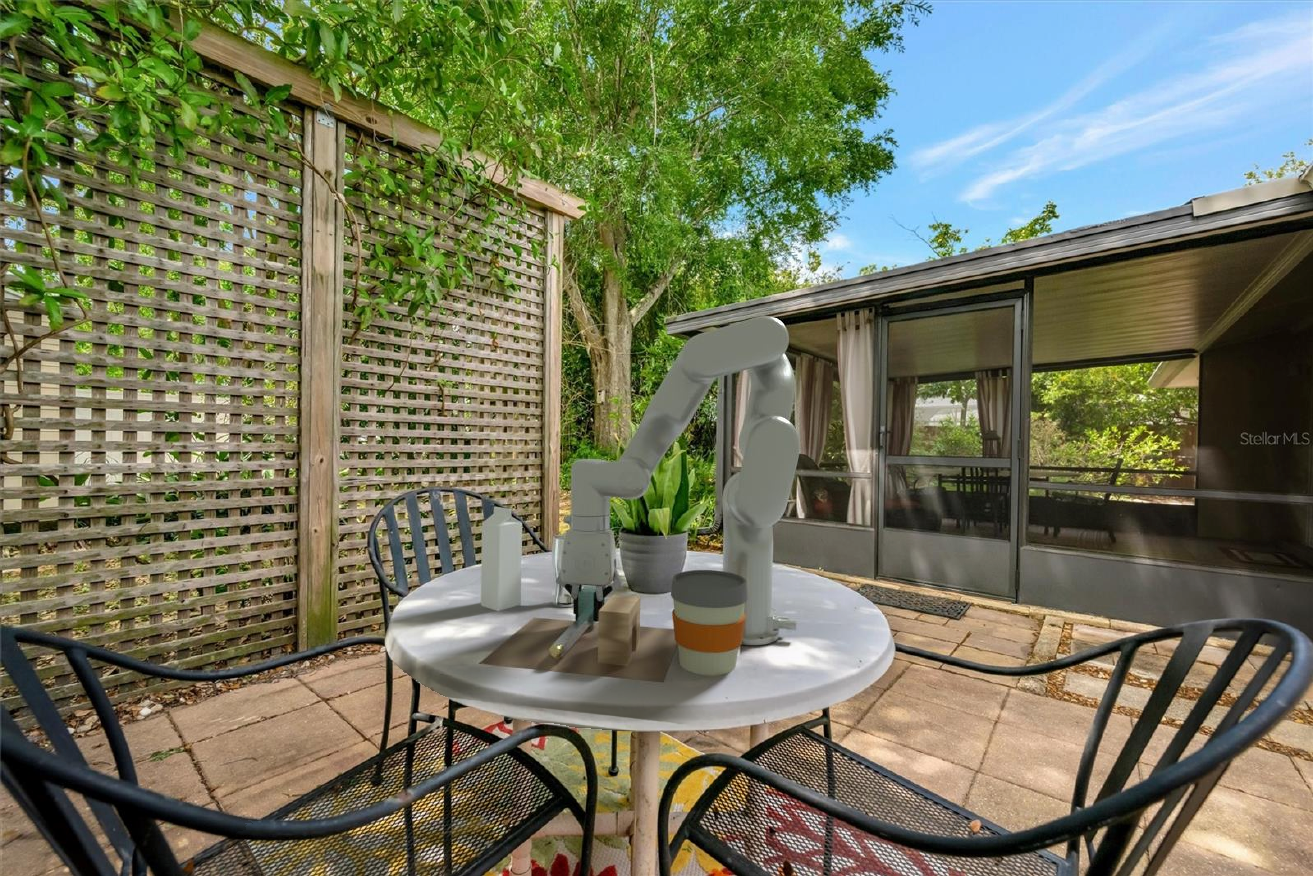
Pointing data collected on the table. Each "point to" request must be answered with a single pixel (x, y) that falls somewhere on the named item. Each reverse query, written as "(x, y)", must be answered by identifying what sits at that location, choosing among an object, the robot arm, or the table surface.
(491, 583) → the milk
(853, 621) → the table surface
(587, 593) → the hook rod
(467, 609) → the table surface
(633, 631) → the wooden toy block
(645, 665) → the board
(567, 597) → the beer glass
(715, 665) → the reusable coffee cup
